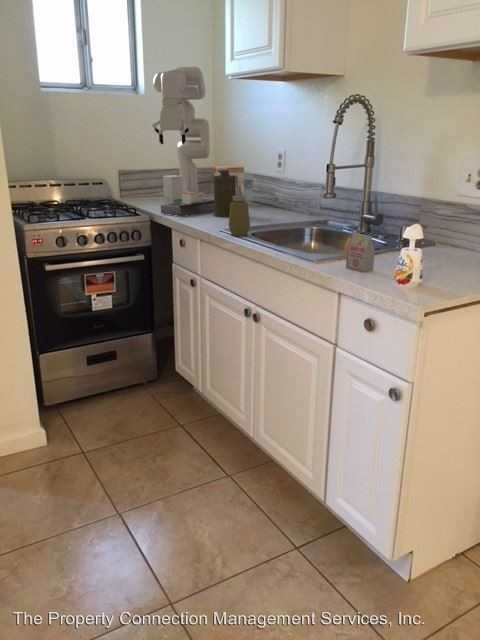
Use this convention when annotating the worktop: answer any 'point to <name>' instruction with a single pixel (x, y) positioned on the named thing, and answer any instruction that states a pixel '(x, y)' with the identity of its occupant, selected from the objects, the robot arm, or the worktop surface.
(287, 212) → the worktop surface
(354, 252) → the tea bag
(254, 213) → the worktop surface
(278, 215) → the worktop surface
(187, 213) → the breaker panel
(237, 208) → the squeeze bottle
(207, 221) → the worktop surface
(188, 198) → the block
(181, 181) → the skincare box
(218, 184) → the canister
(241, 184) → the coffeecake box
